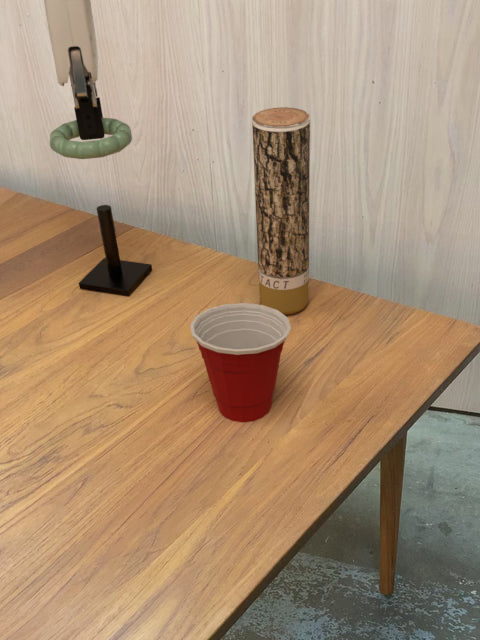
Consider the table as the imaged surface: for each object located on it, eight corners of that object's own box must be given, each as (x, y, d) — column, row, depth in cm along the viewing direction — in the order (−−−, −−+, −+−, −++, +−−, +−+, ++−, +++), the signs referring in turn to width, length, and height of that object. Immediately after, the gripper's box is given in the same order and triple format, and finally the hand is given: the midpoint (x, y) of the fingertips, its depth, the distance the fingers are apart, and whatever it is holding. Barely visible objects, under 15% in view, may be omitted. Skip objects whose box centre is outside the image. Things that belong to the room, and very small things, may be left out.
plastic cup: (306, 395, 93) (306, 307, 85) (268, 450, 86) (265, 360, 78) (225, 375, 97) (218, 289, 88) (183, 426, 90) (171, 337, 81)
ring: (36, 156, 99) (32, 140, 98) (77, 127, 106) (74, 112, 105) (108, 165, 96) (105, 148, 95) (146, 135, 103) (144, 119, 102)
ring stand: (79, 289, 113) (63, 216, 106) (105, 263, 119) (91, 193, 111) (129, 296, 111) (116, 223, 104) (152, 270, 117) (142, 199, 109)
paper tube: (283, 286, 112) (280, 103, 95) (318, 303, 108) (322, 115, 91) (249, 305, 109) (240, 118, 92) (284, 322, 105) (281, 131, 88)
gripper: (35, -38, 97) (66, 116, 109) (26, -10, 85) (62, 159, 98) (96, -43, 98) (120, 112, 110) (95, -15, 86) (122, 154, 98)
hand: (92, 133), depth 104 cm, fingers closed on ring, 2 cm apart
